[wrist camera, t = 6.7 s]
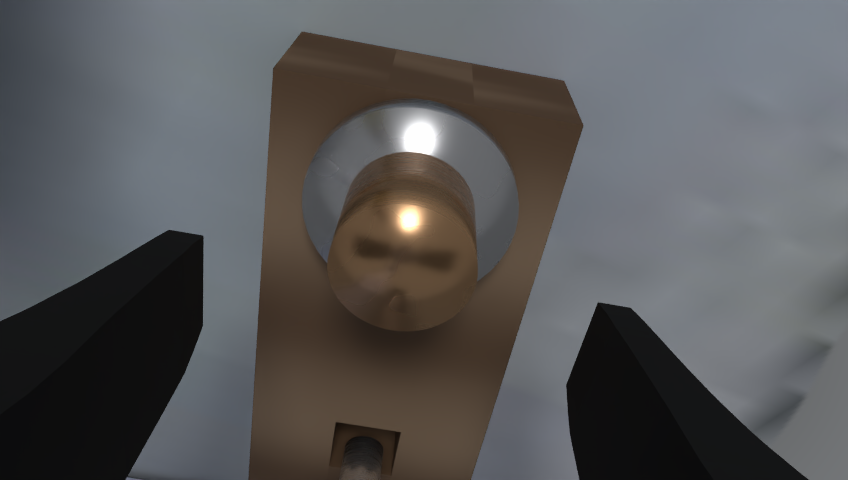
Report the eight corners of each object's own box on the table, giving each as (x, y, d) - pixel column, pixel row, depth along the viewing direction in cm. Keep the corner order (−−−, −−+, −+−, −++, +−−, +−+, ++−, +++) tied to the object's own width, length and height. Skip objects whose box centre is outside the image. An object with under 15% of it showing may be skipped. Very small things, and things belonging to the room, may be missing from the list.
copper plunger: (485, 235, 20) (496, 384, 15) (321, 206, 20) (270, 346, 15) (527, 75, 18) (559, 182, 12) (339, 40, 17) (285, 133, 12)
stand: (458, 442, 25) (458, 517, 22) (271, 413, 25) (248, 485, 22) (564, 81, 18) (583, 125, 15) (302, 31, 18) (273, 68, 15)
